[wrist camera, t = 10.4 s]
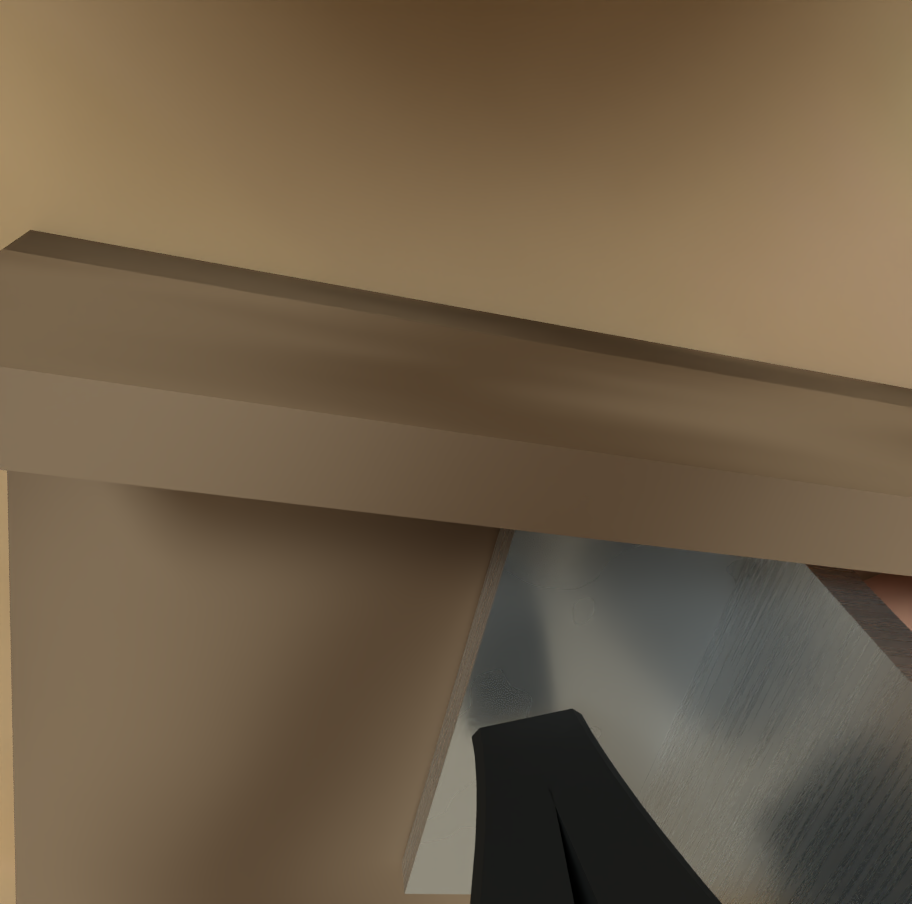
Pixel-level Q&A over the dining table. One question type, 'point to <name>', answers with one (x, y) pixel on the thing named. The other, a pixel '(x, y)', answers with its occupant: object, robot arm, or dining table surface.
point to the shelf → (336, 545)
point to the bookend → (696, 712)
